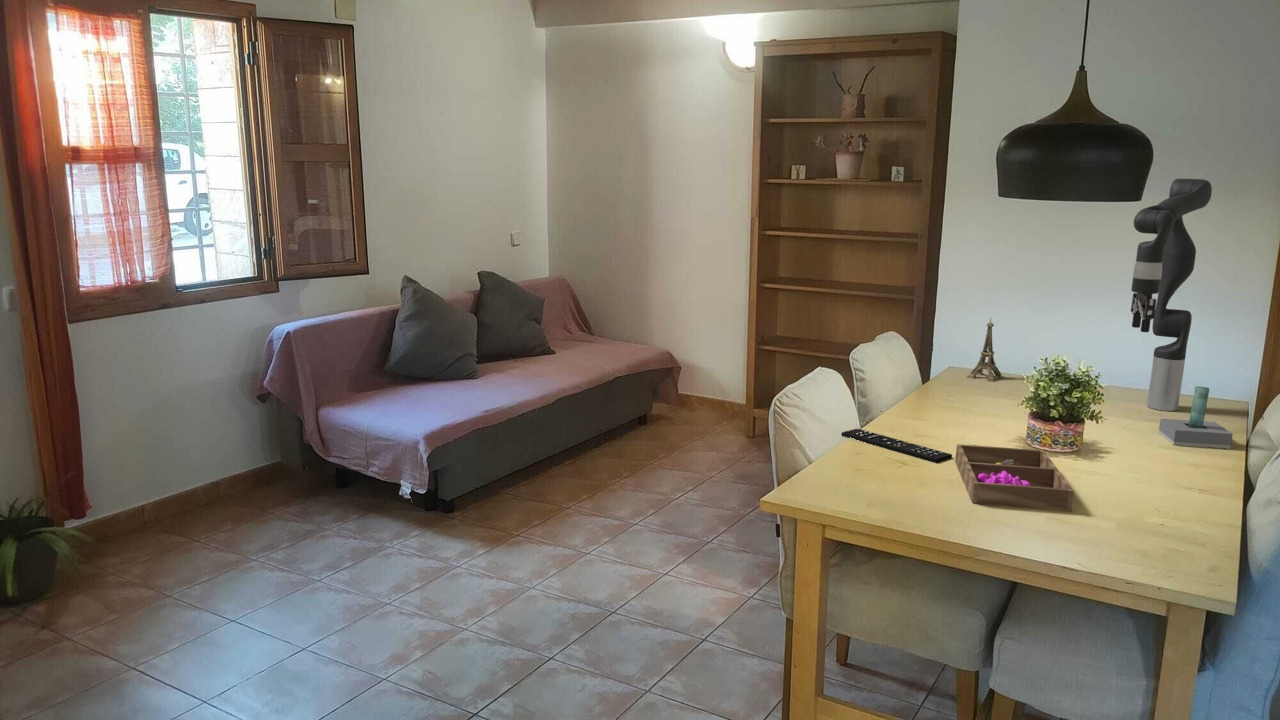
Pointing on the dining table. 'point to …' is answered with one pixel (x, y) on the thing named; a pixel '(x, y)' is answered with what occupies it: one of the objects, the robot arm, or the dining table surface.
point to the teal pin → (1198, 407)
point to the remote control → (897, 445)
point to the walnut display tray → (1027, 465)
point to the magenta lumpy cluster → (1002, 479)
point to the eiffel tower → (990, 364)
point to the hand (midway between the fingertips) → (1140, 329)
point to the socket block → (1195, 434)
